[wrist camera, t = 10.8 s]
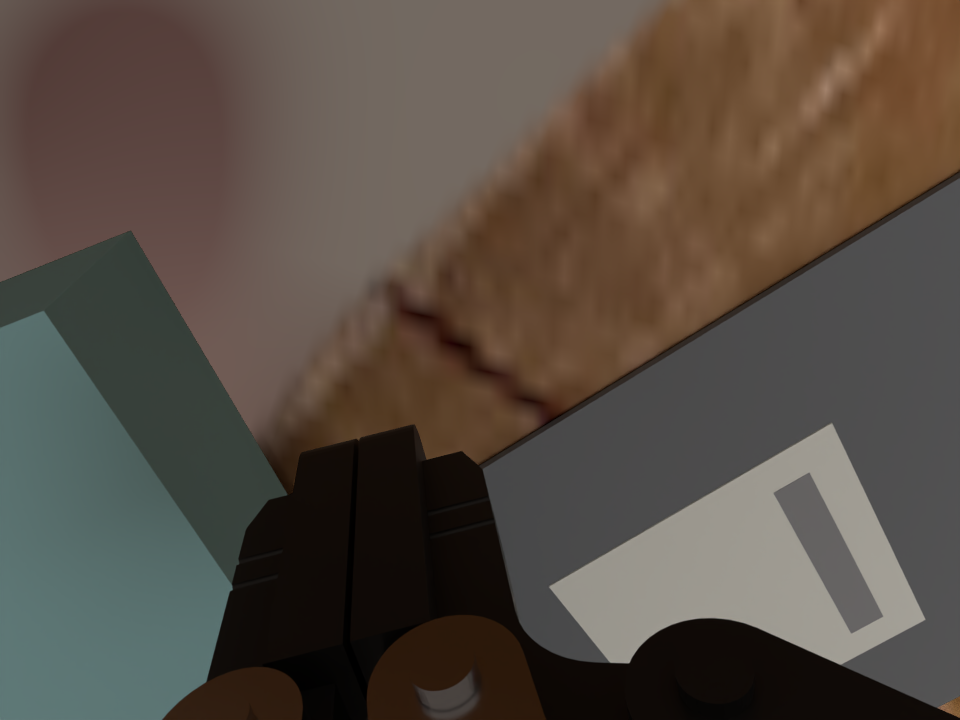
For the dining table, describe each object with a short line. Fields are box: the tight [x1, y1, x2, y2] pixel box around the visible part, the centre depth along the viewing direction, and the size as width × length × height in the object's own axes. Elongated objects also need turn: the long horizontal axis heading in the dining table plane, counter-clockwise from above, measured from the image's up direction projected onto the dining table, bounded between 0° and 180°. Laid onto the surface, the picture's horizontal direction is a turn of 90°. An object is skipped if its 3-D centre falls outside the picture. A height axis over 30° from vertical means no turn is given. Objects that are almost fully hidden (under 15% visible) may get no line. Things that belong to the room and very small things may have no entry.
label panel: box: [479, 172, 960, 708], centre depth 20 cm, size 16×28×1 cm, turn 122°
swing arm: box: [0, 231, 288, 720], centre depth 16 cm, size 5×20×4 cm, turn 20°
